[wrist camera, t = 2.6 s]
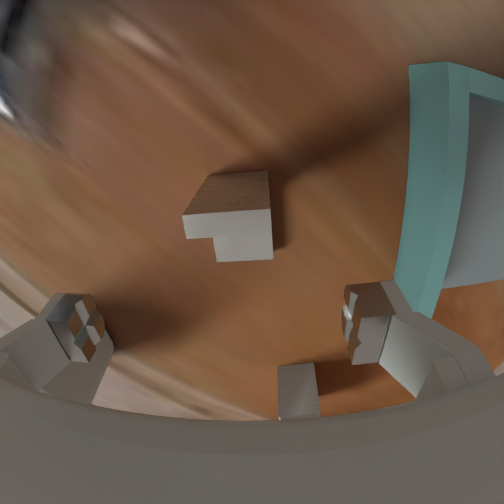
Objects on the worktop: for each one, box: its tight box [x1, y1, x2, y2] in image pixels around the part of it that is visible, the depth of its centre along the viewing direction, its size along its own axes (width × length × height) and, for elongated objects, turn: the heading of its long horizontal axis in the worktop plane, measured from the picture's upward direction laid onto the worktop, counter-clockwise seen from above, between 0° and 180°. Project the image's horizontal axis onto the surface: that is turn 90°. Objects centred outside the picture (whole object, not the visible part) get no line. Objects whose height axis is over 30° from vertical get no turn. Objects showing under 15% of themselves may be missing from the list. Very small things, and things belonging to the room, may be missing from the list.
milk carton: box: [277, 362, 320, 420], centre depth 26 cm, size 4×7×10 cm, turn 10°
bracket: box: [182, 171, 273, 262], centre depth 18 cm, size 6×4×7 cm, turn 5°
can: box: [39, 329, 114, 405], centre depth 22 cm, size 8×8×12 cm
